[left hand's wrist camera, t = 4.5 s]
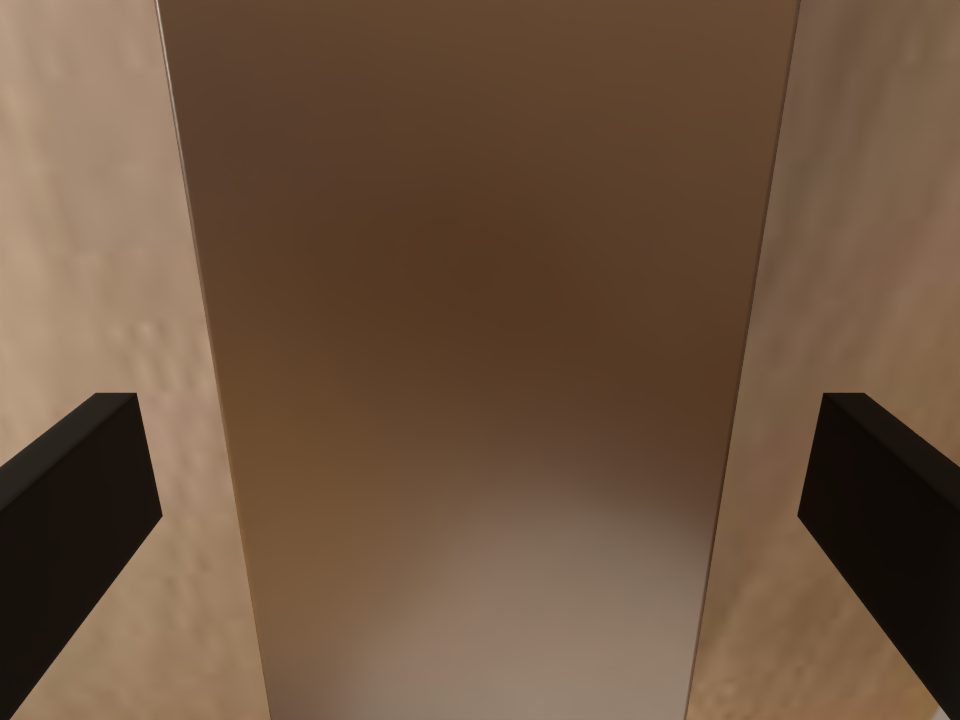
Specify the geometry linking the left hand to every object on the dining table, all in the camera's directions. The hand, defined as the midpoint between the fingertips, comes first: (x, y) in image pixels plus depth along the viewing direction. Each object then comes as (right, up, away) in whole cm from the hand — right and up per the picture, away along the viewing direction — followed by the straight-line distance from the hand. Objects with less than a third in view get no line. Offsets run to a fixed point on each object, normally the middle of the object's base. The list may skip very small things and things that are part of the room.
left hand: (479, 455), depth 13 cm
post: (0, +29, -8) cm, 30 cm away
